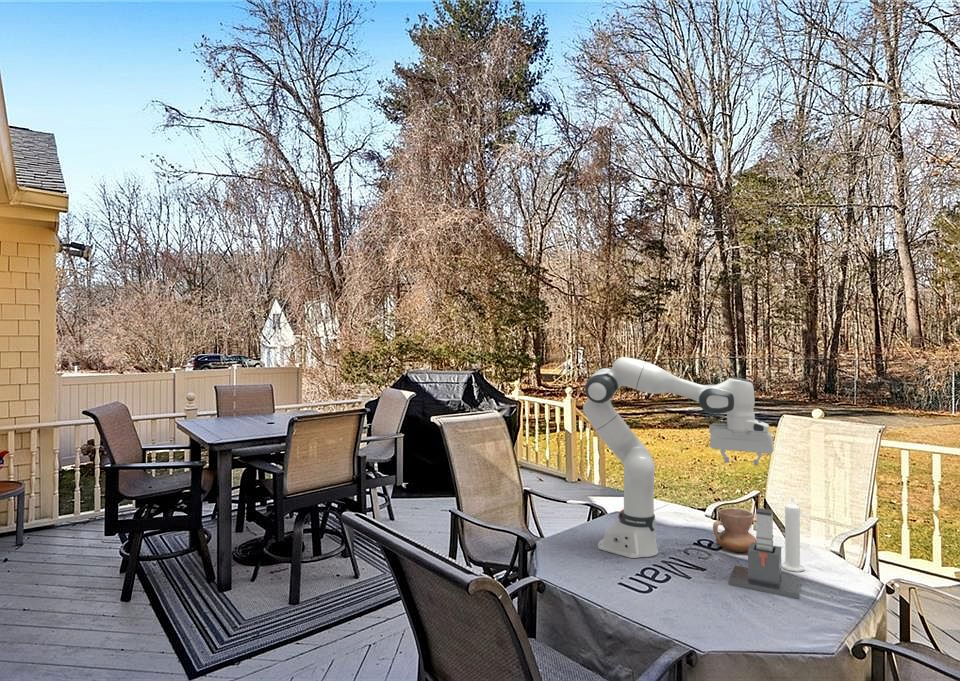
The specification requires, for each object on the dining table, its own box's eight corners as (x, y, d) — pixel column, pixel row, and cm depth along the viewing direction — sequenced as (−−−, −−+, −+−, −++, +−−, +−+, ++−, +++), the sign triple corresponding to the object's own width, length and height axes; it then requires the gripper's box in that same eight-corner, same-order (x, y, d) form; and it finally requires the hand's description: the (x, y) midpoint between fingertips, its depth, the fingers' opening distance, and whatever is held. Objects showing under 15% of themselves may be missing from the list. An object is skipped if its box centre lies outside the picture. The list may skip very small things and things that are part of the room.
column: (755, 560, 186) (755, 511, 186) (757, 555, 190) (757, 507, 190) (772, 563, 184) (771, 513, 184) (773, 558, 188) (773, 510, 188)
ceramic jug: (746, 541, 227) (745, 505, 227) (769, 554, 212) (767, 516, 212) (703, 543, 225) (702, 508, 225) (723, 557, 210) (722, 518, 210)
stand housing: (728, 584, 186) (728, 549, 186) (735, 569, 198) (734, 536, 198) (798, 598, 176) (798, 561, 176) (800, 582, 188) (800, 547, 188)
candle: (803, 566, 201) (802, 495, 201) (805, 573, 195) (804, 500, 195) (780, 562, 204) (780, 493, 204) (781, 570, 198) (781, 498, 198)
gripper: (707, 423, 201) (707, 462, 201) (772, 427, 190) (772, 468, 190) (710, 421, 206) (711, 459, 206) (774, 425, 195) (774, 465, 195)
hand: (741, 463), depth 198 cm, fingers open, 8 cm apart
